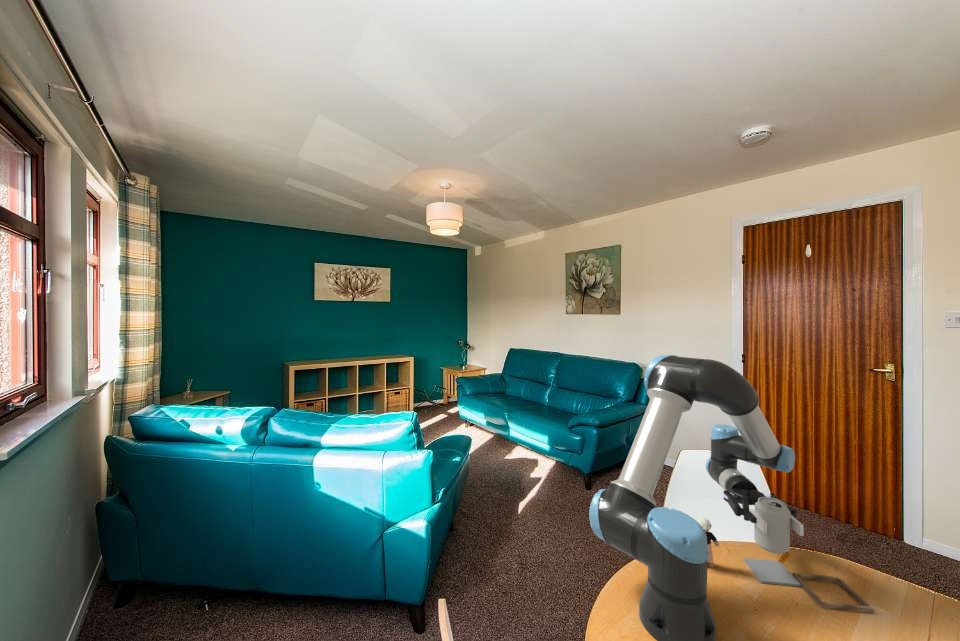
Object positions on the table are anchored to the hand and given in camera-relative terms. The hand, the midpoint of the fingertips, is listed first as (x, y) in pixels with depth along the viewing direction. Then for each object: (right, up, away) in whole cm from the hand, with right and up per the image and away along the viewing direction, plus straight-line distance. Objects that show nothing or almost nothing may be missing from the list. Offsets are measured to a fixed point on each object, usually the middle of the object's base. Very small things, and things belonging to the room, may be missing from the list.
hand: (783, 529), depth 97 cm
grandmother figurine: (-15, -14, +9) cm, 23 cm away
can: (+1, -7, +5) cm, 9 cm away
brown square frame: (+10, -14, -2) cm, 18 cm away
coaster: (+1, -14, +5) cm, 15 cm away
